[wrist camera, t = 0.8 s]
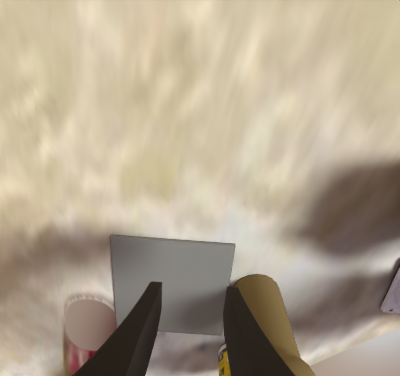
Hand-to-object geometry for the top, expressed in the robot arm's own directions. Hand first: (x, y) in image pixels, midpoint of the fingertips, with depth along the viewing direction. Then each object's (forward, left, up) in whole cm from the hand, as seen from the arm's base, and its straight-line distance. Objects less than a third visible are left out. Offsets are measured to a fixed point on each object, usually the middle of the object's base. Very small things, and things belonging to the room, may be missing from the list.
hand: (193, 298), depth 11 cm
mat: (+2, +10, -10) cm, 15 cm away
